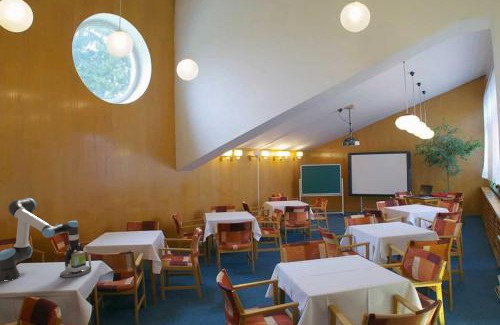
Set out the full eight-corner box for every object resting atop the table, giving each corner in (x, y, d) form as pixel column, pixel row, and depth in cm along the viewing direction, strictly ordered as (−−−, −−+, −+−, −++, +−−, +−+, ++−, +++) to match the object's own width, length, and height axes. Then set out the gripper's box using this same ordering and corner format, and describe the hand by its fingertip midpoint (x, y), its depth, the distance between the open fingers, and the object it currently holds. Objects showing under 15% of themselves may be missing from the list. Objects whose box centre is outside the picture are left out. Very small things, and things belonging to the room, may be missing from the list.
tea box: (86, 268, 274) (85, 251, 274) (74, 272, 266) (73, 254, 265) (76, 266, 282) (75, 249, 282) (64, 270, 274) (63, 252, 273)
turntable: (57, 279, 259) (56, 263, 259) (62, 270, 280) (61, 255, 280) (90, 274, 268) (89, 258, 267) (92, 266, 289) (91, 251, 289)
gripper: (66, 243, 261) (68, 270, 261) (87, 235, 284) (89, 260, 284) (58, 243, 263) (60, 269, 263) (80, 235, 286) (82, 260, 286)
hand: (75, 265), depth 274 cm, fingers closed on tea box, 11 cm apart
